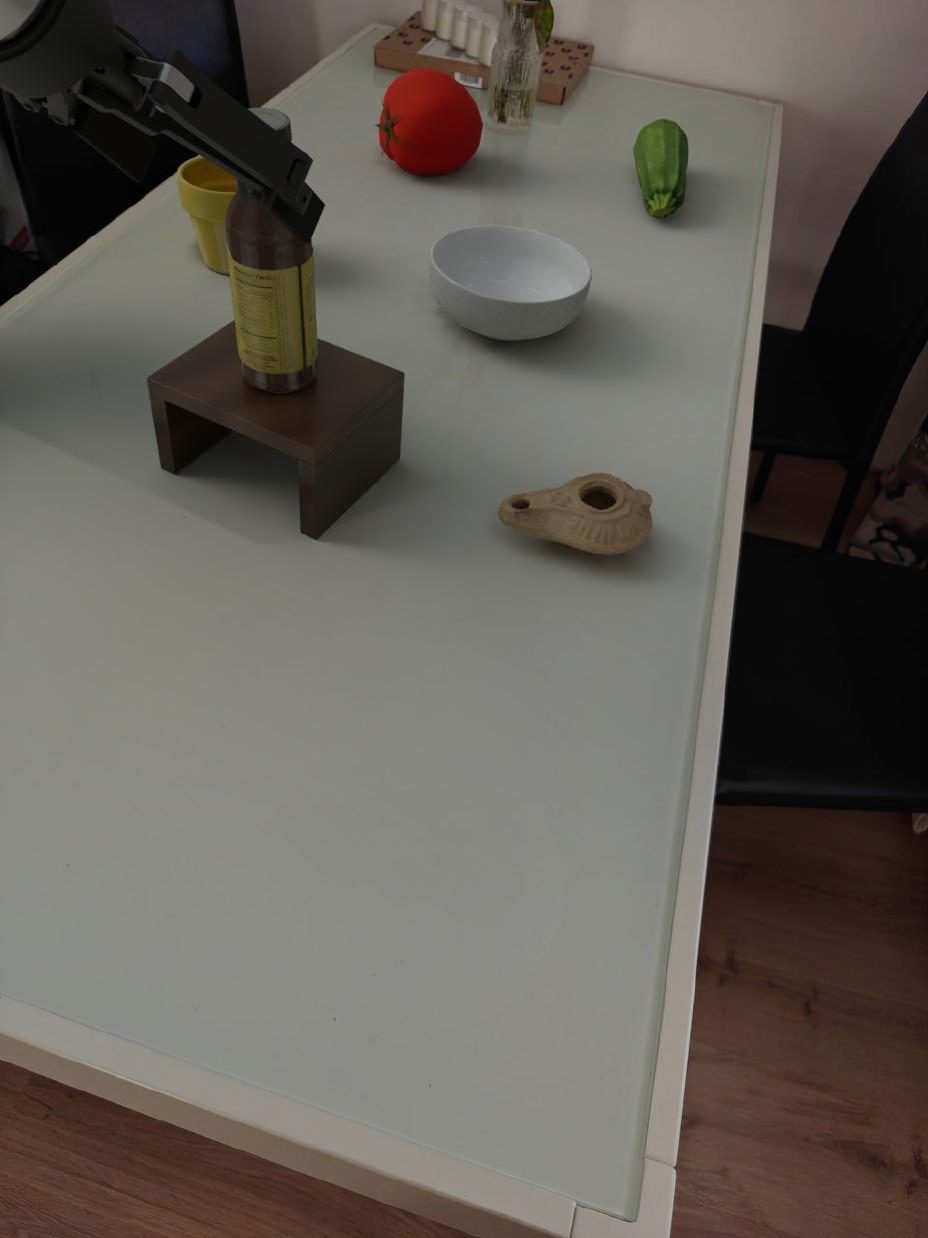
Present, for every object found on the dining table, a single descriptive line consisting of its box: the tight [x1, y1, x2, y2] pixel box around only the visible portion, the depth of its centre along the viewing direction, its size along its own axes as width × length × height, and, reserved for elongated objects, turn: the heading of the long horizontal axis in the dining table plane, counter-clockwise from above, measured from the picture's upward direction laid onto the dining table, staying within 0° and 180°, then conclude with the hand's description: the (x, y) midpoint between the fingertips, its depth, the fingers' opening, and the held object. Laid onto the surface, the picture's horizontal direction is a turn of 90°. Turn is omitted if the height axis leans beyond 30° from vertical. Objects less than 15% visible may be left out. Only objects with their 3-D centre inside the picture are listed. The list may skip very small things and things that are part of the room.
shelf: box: [146, 319, 406, 541], centre depth 83 cm, size 16×13×9 cm
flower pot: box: [176, 155, 238, 276], centre depth 107 cm, size 10×10×10 cm
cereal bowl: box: [428, 224, 593, 342], centre depth 104 cm, size 17×17×7 cm
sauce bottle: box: [225, 107, 318, 394], centre depth 73 cm, size 6×6×20 cm
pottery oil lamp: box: [497, 472, 654, 555], centre depth 81 cm, size 9×12×7 cm
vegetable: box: [632, 118, 689, 219], centre depth 130 cm, size 7×7×20 cm
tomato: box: [374, 67, 484, 176], centre depth 128 cm, size 13×13×13 cm
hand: (226, 192), depth 66 cm, fingers open, 13 cm apart
